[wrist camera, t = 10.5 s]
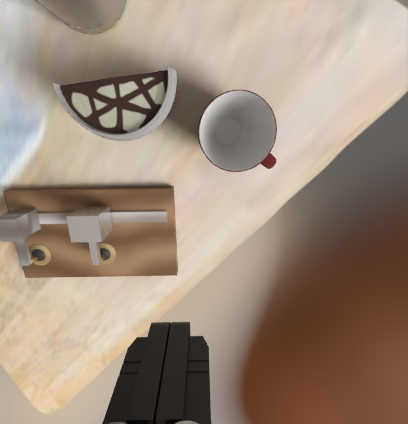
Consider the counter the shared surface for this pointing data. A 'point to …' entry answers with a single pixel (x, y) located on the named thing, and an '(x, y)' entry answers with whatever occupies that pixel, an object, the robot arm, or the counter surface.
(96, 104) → the food container
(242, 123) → the mug
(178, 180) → the counter surface
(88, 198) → the hole board
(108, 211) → the leg
